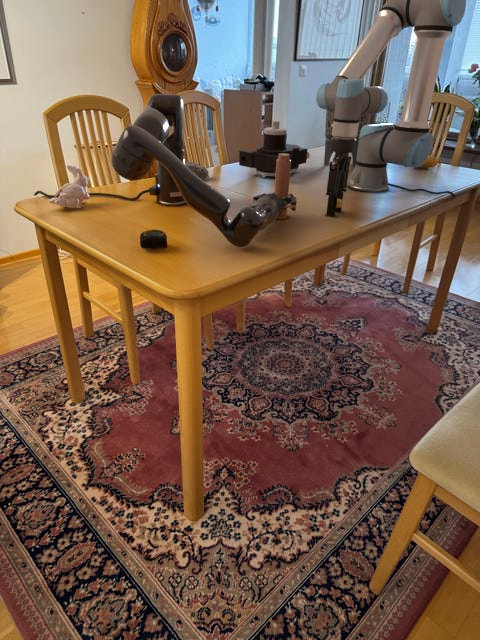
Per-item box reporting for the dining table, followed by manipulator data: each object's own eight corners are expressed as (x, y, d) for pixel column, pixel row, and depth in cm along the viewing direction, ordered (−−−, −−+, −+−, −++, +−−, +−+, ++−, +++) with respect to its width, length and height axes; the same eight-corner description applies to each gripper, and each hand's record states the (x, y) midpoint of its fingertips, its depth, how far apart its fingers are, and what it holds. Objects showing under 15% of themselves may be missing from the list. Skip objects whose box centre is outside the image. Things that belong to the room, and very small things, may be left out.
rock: (201, 174, 189) (200, 158, 186) (213, 179, 184) (213, 162, 180) (174, 179, 182) (173, 162, 178) (186, 184, 176) (186, 167, 173)
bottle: (272, 218, 141) (276, 155, 132) (273, 214, 145) (277, 152, 135) (286, 219, 141) (290, 156, 131) (287, 215, 144) (291, 153, 135)
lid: (345, 205, 146) (345, 200, 145) (337, 208, 143) (338, 203, 142) (332, 202, 149) (332, 197, 148) (324, 205, 146) (324, 199, 145)
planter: (313, 167, 208) (319, 103, 195) (331, 160, 222) (338, 101, 209) (353, 173, 199) (362, 107, 185) (369, 166, 213) (379, 104, 199)
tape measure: (140, 252, 115) (139, 238, 113) (141, 242, 120) (140, 229, 119) (167, 251, 116) (166, 237, 114) (167, 241, 121) (166, 228, 120)
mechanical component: (240, 120, 182) (283, 115, 202) (239, 174, 192) (280, 164, 212) (283, 126, 170) (325, 120, 190) (280, 183, 180) (320, 171, 200)
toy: (412, 161, 206) (406, 154, 219) (414, 175, 209) (408, 167, 222) (438, 153, 203) (431, 147, 216) (440, 167, 206) (432, 160, 219)
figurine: (99, 203, 151) (94, 164, 145) (61, 214, 140) (53, 172, 134) (83, 199, 155) (77, 161, 149) (45, 209, 144) (37, 168, 138)
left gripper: (242, 219, 132) (262, 204, 146) (289, 226, 128) (304, 210, 142) (242, 194, 128) (263, 181, 142) (291, 200, 124) (307, 186, 138)
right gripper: (341, 133, 144) (332, 205, 156) (321, 139, 130) (312, 218, 142) (364, 135, 141) (353, 209, 152) (346, 142, 127) (335, 222, 139)
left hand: (283, 195), depth 142 cm, fingers closed on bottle, 4 cm apart
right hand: (333, 213), depth 147 cm, fingers closed on lid, 5 cm apart
